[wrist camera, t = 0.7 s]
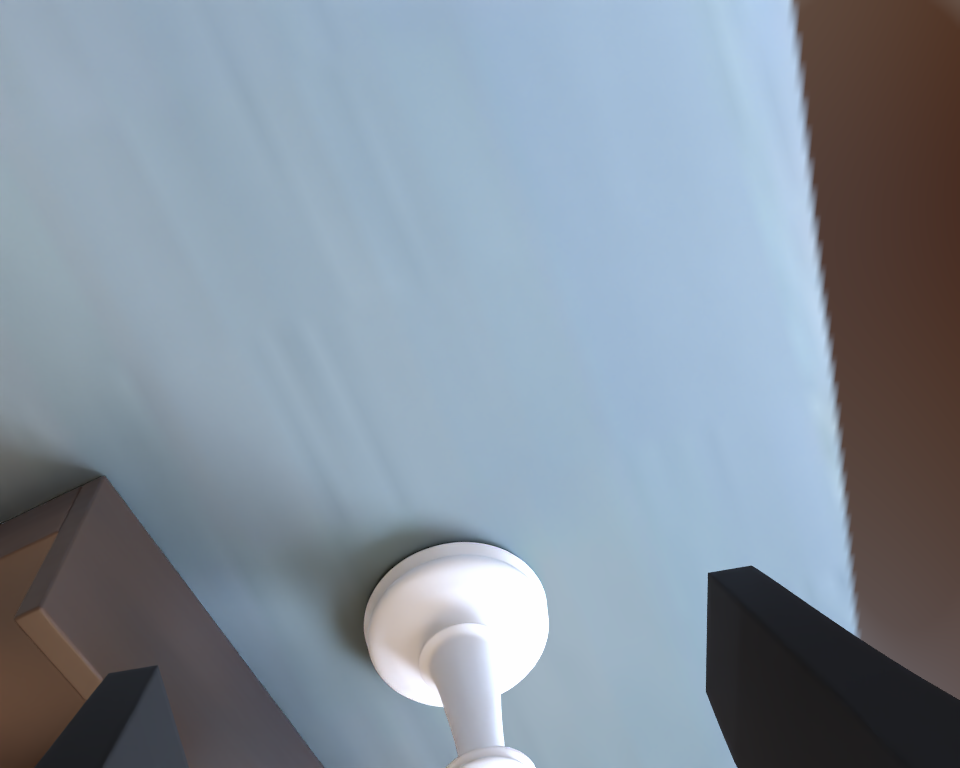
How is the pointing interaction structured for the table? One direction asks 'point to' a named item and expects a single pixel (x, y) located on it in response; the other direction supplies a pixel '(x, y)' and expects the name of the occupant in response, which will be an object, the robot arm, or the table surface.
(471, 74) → the table surface
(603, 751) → the table surface
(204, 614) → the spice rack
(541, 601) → the chess piece
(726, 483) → the table surface
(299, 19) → the table surface
